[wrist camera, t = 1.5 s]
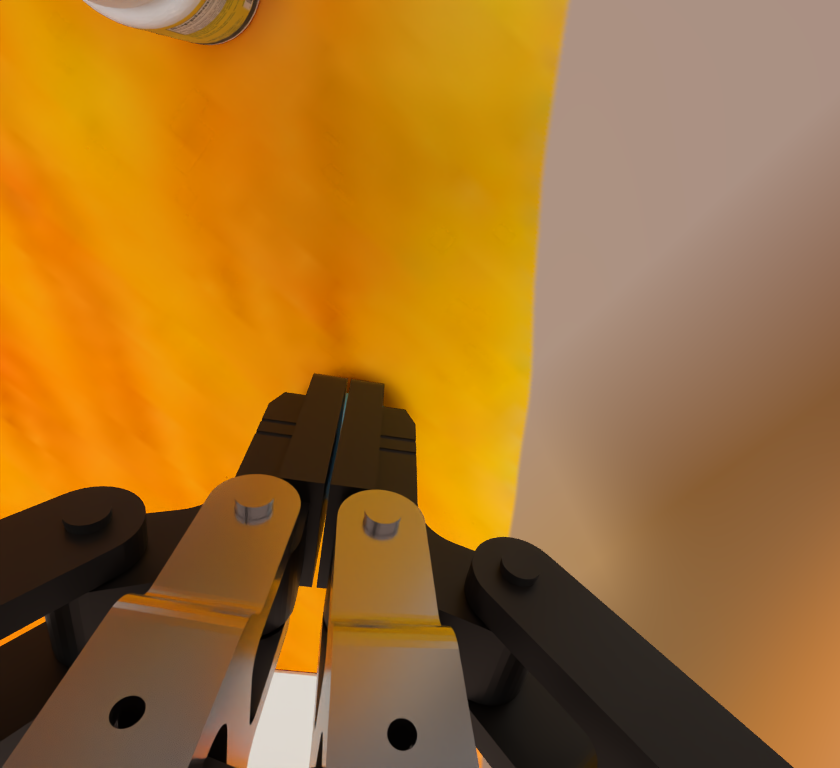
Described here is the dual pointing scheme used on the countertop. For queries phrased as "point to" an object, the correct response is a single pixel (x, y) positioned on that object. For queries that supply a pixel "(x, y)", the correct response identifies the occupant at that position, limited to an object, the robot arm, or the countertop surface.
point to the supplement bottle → (182, 17)
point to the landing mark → (285, 722)
